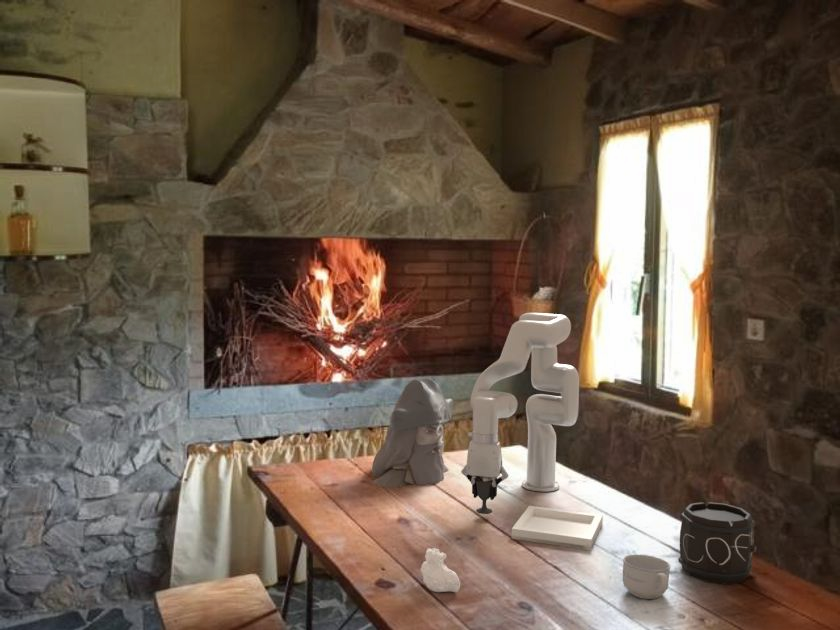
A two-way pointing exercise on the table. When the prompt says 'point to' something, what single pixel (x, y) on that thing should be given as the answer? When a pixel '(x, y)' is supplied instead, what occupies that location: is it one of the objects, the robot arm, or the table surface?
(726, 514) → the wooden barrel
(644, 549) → the table surface
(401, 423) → the bust
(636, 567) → the teacup
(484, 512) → the sundae
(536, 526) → the tray
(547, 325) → the robot arm
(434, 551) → the cream lumpy figure
